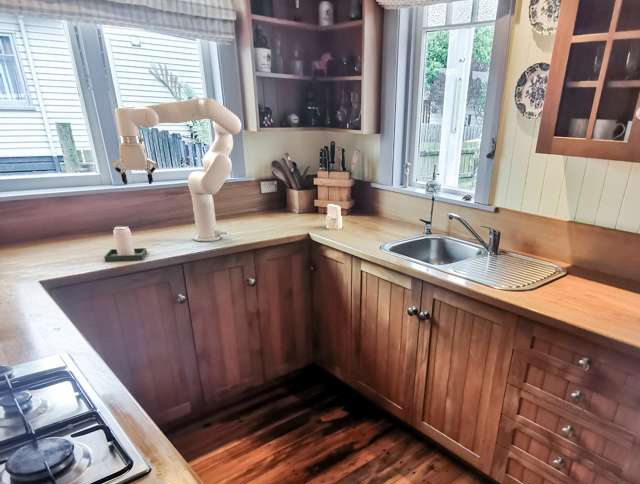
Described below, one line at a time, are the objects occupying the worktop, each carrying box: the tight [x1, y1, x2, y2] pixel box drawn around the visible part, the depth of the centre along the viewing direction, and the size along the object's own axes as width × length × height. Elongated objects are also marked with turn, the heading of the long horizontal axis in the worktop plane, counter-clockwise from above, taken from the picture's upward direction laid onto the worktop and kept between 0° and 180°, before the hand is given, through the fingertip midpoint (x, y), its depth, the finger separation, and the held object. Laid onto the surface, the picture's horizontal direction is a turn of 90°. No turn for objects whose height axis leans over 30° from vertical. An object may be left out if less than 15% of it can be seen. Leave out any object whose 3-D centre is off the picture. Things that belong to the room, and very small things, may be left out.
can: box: [112, 225, 135, 256], centre depth 195 cm, size 6×6×12 cm
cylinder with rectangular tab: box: [325, 203, 343, 230], centre depth 256 cm, size 9×9×12 cm
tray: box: [104, 247, 148, 262], centre depth 197 cm, size 14×11×2 cm
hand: (138, 183), depth 198 cm, fingers open, 9 cm apart
